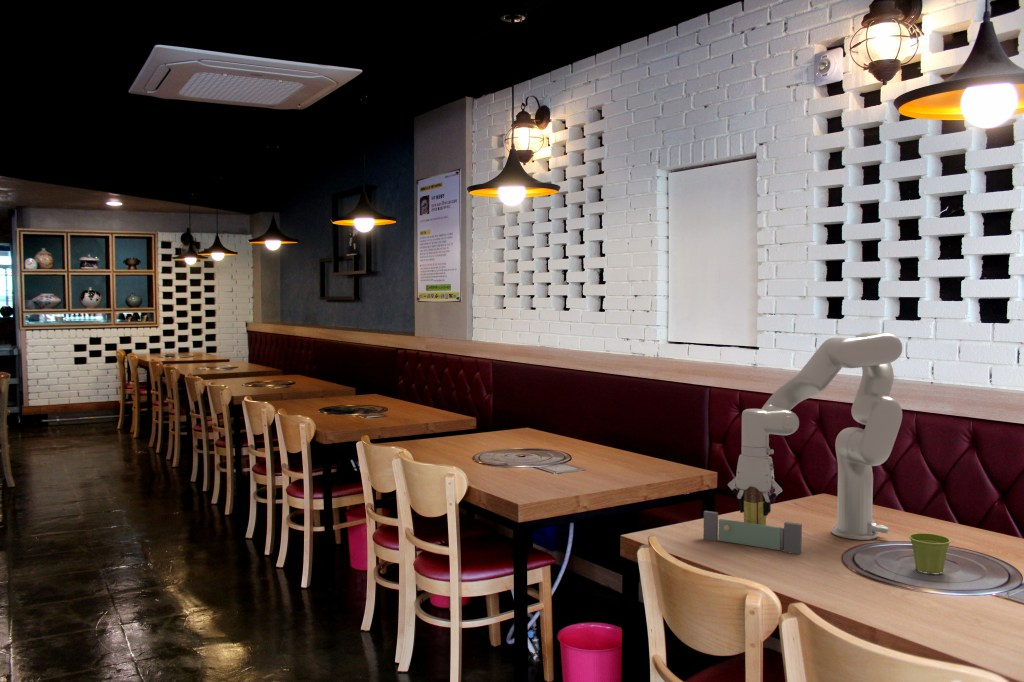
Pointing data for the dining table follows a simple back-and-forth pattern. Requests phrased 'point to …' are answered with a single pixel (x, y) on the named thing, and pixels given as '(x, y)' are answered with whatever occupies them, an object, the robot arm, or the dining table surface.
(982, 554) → the dining table surface
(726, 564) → the dining table surface
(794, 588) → the dining table surface
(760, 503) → the sauce bottle
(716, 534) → the partition wall
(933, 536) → the plant pot
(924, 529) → the dining table surface
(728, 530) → the door
